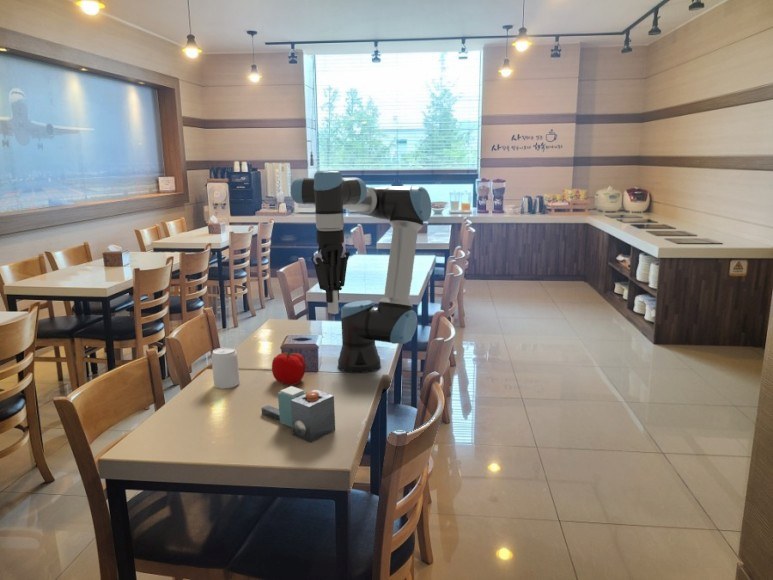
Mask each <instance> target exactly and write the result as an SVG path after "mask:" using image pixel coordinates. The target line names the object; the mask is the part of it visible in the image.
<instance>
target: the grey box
mask: <svg viewBox="0 0 773 580" xmlns="http://www.w3.org/2000/svg"><path fill="white" fill-rule="evenodd" d="M310 392H318V393H319V397H318V400H316V401H314V402H310V401H307V398H306V394H304V395H302V396H299V397H297V398H295V399H292V400H291V415H292V427H291V429H292V430H291V431H292V436H294V437H296V438H297V439H298V438H299V439H301V440H303V441H305V442H307V443H310V444H312V443H314V442H316V441H317V440H319V439H322V438H323V437H325V436H327V435H328V434H331V433H333V432H334V431H336V416H335V413H336V412H335V411H336V410H335V396H334V394H330V393H328V392H324V391H322V390H318V389H313V390H311V391H310Z"/></svg>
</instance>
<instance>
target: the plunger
mask: <svg viewBox="0 0 773 580" xmlns="http://www.w3.org/2000/svg"><path fill="white" fill-rule="evenodd" d="M318 397H319V393H318V392H311V391H309V392H307V393H306V398H307V401H310V402H314V401H316V400H318Z"/></svg>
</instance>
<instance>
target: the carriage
mask: <svg viewBox="0 0 773 580" xmlns="http://www.w3.org/2000/svg"><path fill="white" fill-rule="evenodd" d="M306 393H308V392H307V391H304V389H302V388H298V387H295V386H293V385H290V386H289V387H286V388H284V389H281V390H280V391H278V392H277V399H278V409H279V417H280V422H279V423H280V424H283V425H285V426H288V427H290V428H292V415H291V400H292V399H295V398H297V397H299V396H302V395H304V394H306Z"/></svg>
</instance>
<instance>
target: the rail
mask: <svg viewBox="0 0 773 580" xmlns="http://www.w3.org/2000/svg"><path fill="white" fill-rule="evenodd" d="M261 415H263V416H265V417H268V418H270V419H273V420H276V421H277V422H279V423H280V417H279V408H277V407H274V406H271V405H269V404H268V405H265V406H263V407H261Z"/></svg>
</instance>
